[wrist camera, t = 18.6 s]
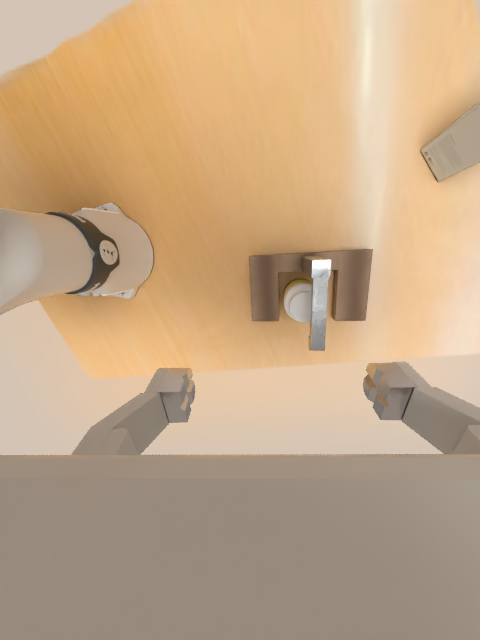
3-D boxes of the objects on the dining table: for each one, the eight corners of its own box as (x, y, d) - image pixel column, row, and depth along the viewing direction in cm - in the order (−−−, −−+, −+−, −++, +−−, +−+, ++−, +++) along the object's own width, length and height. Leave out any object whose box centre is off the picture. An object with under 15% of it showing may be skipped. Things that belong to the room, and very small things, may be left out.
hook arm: (299, 317, 45) (309, 355, 29) (300, 255, 42) (312, 260, 26) (310, 317, 45) (325, 355, 29) (312, 255, 41) (331, 259, 25)
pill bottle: (315, 310, 44) (326, 329, 34) (283, 309, 45) (283, 327, 35) (317, 277, 42) (329, 287, 32) (283, 278, 43) (284, 287, 33)
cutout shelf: (254, 316, 46) (252, 321, 44) (251, 255, 43) (249, 256, 40) (359, 315, 43) (365, 320, 40) (366, 249, 39) (372, 249, 37)
